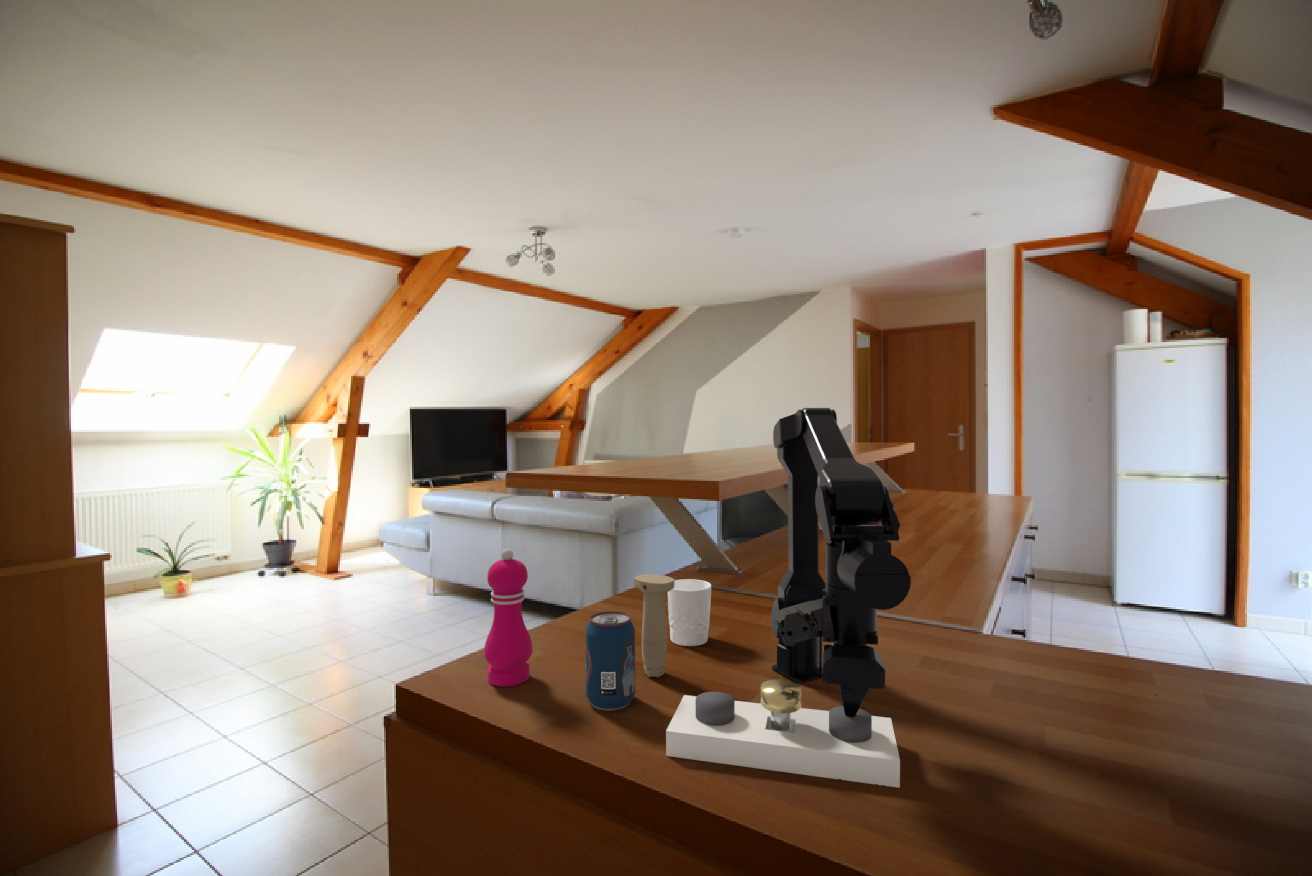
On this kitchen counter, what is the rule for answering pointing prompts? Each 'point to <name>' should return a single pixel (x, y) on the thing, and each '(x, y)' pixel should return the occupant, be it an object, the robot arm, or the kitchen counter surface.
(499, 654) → the pepper mill
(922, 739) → the kitchen counter surface
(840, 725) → the knob
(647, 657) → the handle
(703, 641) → the white cup
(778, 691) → the knob middle
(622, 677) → the soda can
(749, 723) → the control plate
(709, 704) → the knob
